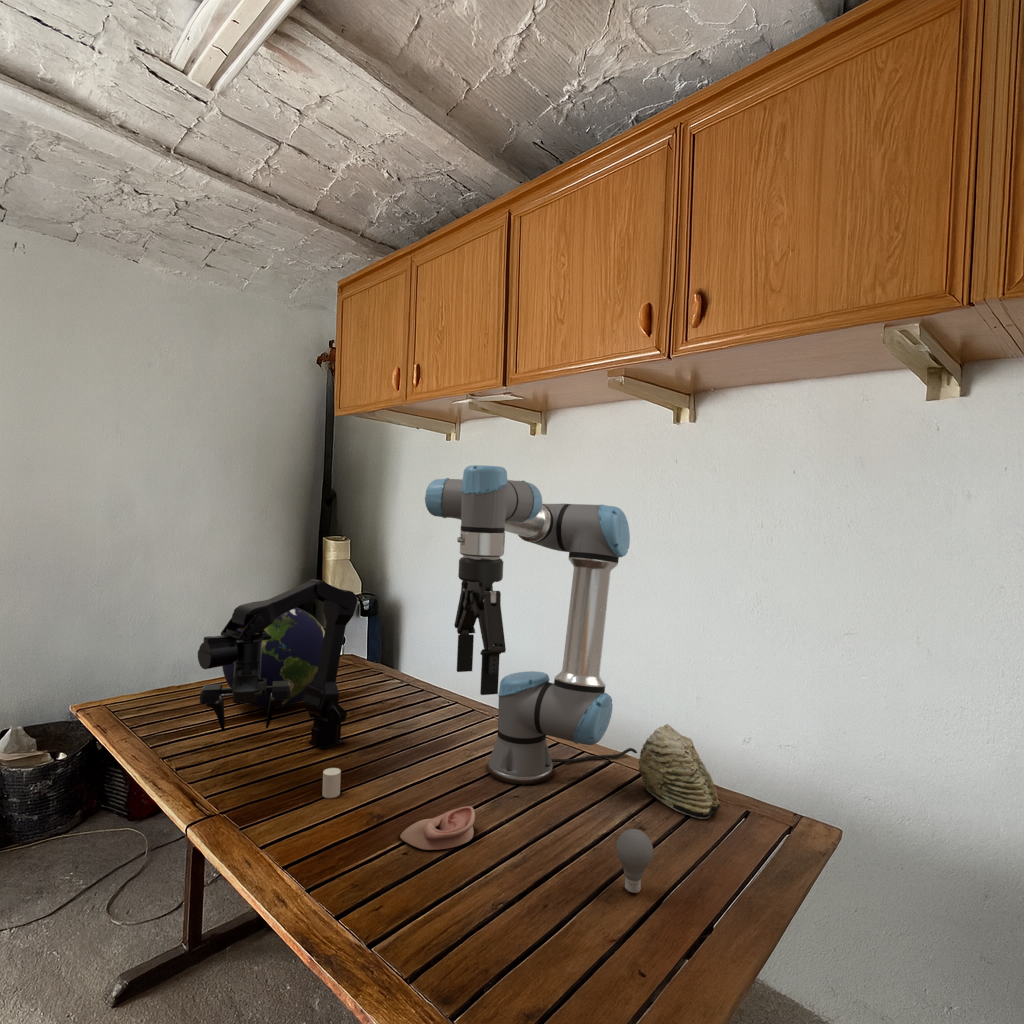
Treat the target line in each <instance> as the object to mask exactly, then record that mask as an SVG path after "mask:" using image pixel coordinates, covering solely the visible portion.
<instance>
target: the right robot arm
mask: <svg viewBox="0 0 1024 1024" xmlns="http://www.w3.org/2000/svg"><path fill="white" fill-rule="evenodd" d="M542 496H543V495H542V493H541V490H540V489H539V488H538V487H537V486H536V485H535V484H533V483H531V482H528V481H525V480H515V479H514V480H513V479H512V480H511V479H508V471H507V470H506V467H503V466H497V465H479V464H478V465H477V464H475V465H467V466H466V467H465V468H464V470H463V474H462V478H461V479H460V478H450V477H446V478H437V479H436V478H435V479H434V480H432V481H431V482H430V483H429V484H428V485H427V487H426V489H425V495H424V504H425V507H426V510H427V511H428V513H429V514H430V515H432V516H433V517H438V518H442V519H447V518H448V519H449V518H450V519H456V520H460V533H459V534H460V536H458V537H457V538H456V540H457V543H459V554H460V555H462V556H461V557H460V558H459V559H458V574H457V575H458V576H457V577H458V579H459V580H460V581H461V586H460V587H461V588H460V596H459V599H458V600H459V601H458V605H457V610H456V614H455V620H454V628H455V629H456V632H457V634H458V635H457V653H456V672H457V673H466V672H473V664H474V642H475V641H474V640H475V639H474V638H475V636H474V634H476V628H475V625H476V622H477V619H478V625H479V629H480V636H481V639H482V645H483V649H481V651H480V652H479V653H480V655H481V666H480V667H481V669H480V674H481V675H480V692H479V694H480V695H481V696H489V695H497V696H498V707H497V708H498V711H497V712H498V713H497V737H496V740H495V743H494V745H493V748H492V750H491V753H490V756H489V760H488V769H487V770H488V771H487V772H488V773H489V775H491V776H492V777H493V778H495V779H496V780H499V781H500V782H504V783H507V784H513V785H523V786H524V785H525V786H526V785H533V784H534V785H535V784H539V783H543V782H545V781H547V780H549V779H550V778H551V777H552V775H553V763H564V764H565V763H568V764H569V763H577V762H581V761H582V762H583V761H586V760H595V759H596V760H597V759H615V758H616V759H617V758H620V757H622V756H625V755H626V754H627V753H629V752H632V753H634V754H638V751H637V750H636V749H635V748H633V747H628V748H627V749H624V750H623V751H621V752H620V753H615V754H594V755H587V756H582V757H576V758H566V759H565V758H563V759H562V758H551V753H550V749H549V746H548V742H547V736H548V737H553V738H556V739H561V740H565V741H569V742H571V743H572V742H573V743H574V744H576V745H578V744H582V745H586V746H593V745H596V744H598V743H599V742H600V741H601V740H602V739H603V737H604V736H605V734H606V732H607V730H608V728H609V726H610V722H611V718H612V714H613V708H614V707H613V706H614V705H613V697H612V696H611V695H610V694H609V693H607V692H606V683H605V681H604V680H603V679H602V677H601V666H602V656H603V646H604V638H605V628H606V620H607V610H608V601H609V593H610V592H609V591H610V581H611V574H612V573H611V572H612V571H613V570H614V569H615V568H616V567H618V566H619V560H620V559H619V558H623V557H625V556H627V554H628V552H629V548H630V543H631V535H630V534H631V533H630V526H629V522H628V520H627V519H628V518H627V516H626V513H625V512H624V511H623V510H622V509H621V508H620V507H618V506H614V505H607V504H606V505H605V504H587V503H586V504H582V503H581V504H580V503H577V504H576V503H543V497H542ZM506 533H511V534H514V535H517V536H518V537H519V538H520V539H521V540H523V541H524V542H527V543H531V544H535V545H537V546H541V547H543V548H546V549H549V550H553V551H558V552H565V553H568V561H569V562H570V563H571V565H572V566H573V572H572V581H571V588H570V590H571V591H570V600H569V608H568V617H567V624H566V634H565V642H564V643H565V644H564V651H563V661H562V669H561V671H560V672H559V673H558V674H556V675H555V676H554V681H553V682H550V680H551V679H550V676H549V674H548V673H546V672H543V671H519V672H518V671H517V672H513V673H509V674H507V675H505V676H503V678H501V680H500V683H499V676H500V655H501V654H504V653H505V654H506V651H507V649H506V640H505V632H504V623H503V615H502V606H501V605H502V604H501V599H502V598H501V595H502V594H501V591H500V590H494V586H493V584H494V583H498V582H501V581H502V580H503V578H504V560H503V559H502V558H501V557H503V556H504V555H505V546H506V545H505V542H506V541H505V540H506Z"/></svg>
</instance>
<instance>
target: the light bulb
mask: <svg viewBox="0 0 1024 1024" xmlns="http://www.w3.org/2000/svg"><path fill="white" fill-rule="evenodd" d="M615 849H616V854H617V857H618V859H619V861H620V863H621V865H622V867H623V873H624V874H623V875H624V876H625V878H624V888H625V890H627V891H628V892H630V893H634V894H635V893H639V892H640V891H641V889H642V887H641V886H642V879H643V877H644V875H645V871H646V868H647V867H648V866H649V864H650V863H651V861H652V859H653V855H654V847H653V843H652V841H651V838H649V836H648V835H647V834H646V833H645V832H643V831H642V830H641V829H636V828H629V829H627V830H625V831H623V832H622V833H621V834H620V835H619V837H618V839H617V841H616V847H615Z"/></svg>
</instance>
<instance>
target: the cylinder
mask: <svg viewBox="0 0 1024 1024" xmlns="http://www.w3.org/2000/svg"><path fill="white" fill-rule="evenodd" d="M341 774H342V770H341V768H338V767H329V768H326V769H323V771H322V792H321V793H322V794H321V795H322V797H323V798H326V799H334V798H337V797H338V796H340V795H341V779H342V778H341V776H342V775H341Z"/></svg>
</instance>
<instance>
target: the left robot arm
mask: <svg viewBox="0 0 1024 1024" xmlns="http://www.w3.org/2000/svg"><path fill="white" fill-rule="evenodd" d="M315 599H316V600H317V601H320V602H322V603H323V606H322V607H323V608H322V612H323V616H324V619H325V622H326V623H325V629H324V631H325V634H324V639H323V645H322V650H321V655H320V661H319V666H318V671H317V677H316V680H315V681H314V682H313V684H312V685H311V686H309V685H307V686H306V688H305V696H304V698H303V700H302V702H304V703H303V707H304V709H305V711H306V712H307V713H308V716H309V718H311V719H313V721H312V722H313V723H312V727H311V730H310V731H311V732H310V733H311V735H310V739H309V740H308V743H309V744H310V745H313V746H314V747H316V748H318V749H320V750H327V749H329V748H333V747H336V746H340V745H343V744H344V743H345V741H344V740H343V739H341V737H342V735H341V733H342V723H343V722H346V719H347V717H348V716H347V715H348V712H347V711H346V710H345V709H344V708H343V707H342V706H341V705H340V691H339V688H338V684H337V678H338V672H339V666H340V660H341V655H342V650H343V644H344V639H345V633H346V628H347V625H348V624H349V622H350V621H351V620H352V618H353V617H354V615H355V612H356V609H357V605H358V596H356V593H355V592H353V591H352V590H347V589H342V588H338V587H336V586H334V585H331V584H330V583H328V582H326V581H325V580H321V579H314V578H311V579H309V580H307V581H306V582H304V583H302V584H299V585H298V586H295V587H293V588H291V589H288V590H287V591H283V592H282V593H280V594H277V595H275V596H273V597H271V598H268V599H265V600H258V601H252V602H248V603H247V602H246V603H244V604H240V605H238V606H237V607H235V609H234V610H233V612H232V614H231V618H230V619H229V620H228V622H227V623H226V624H225V626H224V628H223V629H222V630H221V632H220V635H214V636H212V635H209V636H204V637H203V642H202V643H201V644H200V646H199V648H198V650H197V661H198V664H199V666H200V668H201V669H203V670H209V669H215V668H219V667H222V666H226V665H231V664H232V663H233V662H234V679H233V681H232V688H230V687H223V683H206V684H204V685H203V687H202V688H201V690H200V695H199V704H202V705H205V706H206V707H207V708H211V709H212V710H213V711H214V713H215V715H216V718H217V720H218V723H219V727H220V729H221V732H225V729H226V728H225V726H226V717H225V703H224V698H231V697H232V703H233V704H235V705H239V704H243V703H246V704H249V703H254V702H255V701H256V700H257V696H261V695H271V697H270V703H269V708H267V715H266V721H265V729H268V728H269V726H270V723H271V721H272V718H273V715H274V712H275V711H276V709H277V708H276V707H277V705H278V704H279V703H282V702H284V699H289V698H290V682H289V681H273V685H272V686H266V678H263V679H261V659H262V641H263V640H269V639H271V636H270V635H269V634H267V633H266V631H265V630H264V629H265V628H267V627H268V626H269V625H271V624H272V623H273V622H274V620H275V619H276V618H277V617H279V616H280V615H282V614H284V613H286V612H288V611H290V610H292V609H294V608H299V607H300V606H303V605H304V604H307V603H309V602H311V601H313V600H315ZM237 629H240V630H243V631H242V632H240V631H237ZM247 702H248V703H247Z"/></svg>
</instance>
